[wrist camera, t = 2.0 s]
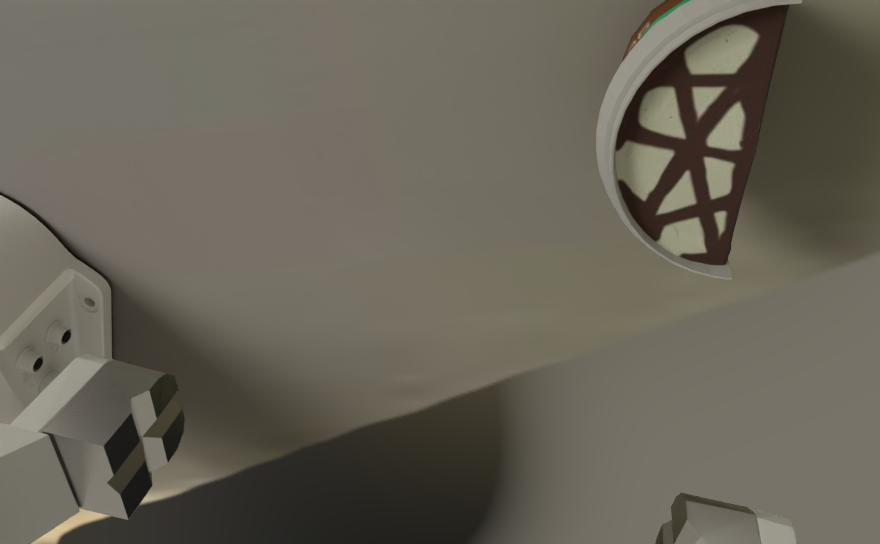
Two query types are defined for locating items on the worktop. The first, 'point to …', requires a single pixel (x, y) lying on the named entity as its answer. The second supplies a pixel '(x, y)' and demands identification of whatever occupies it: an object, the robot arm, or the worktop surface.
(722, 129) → the food container
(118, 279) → the worktop surface
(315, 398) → the worktop surface
